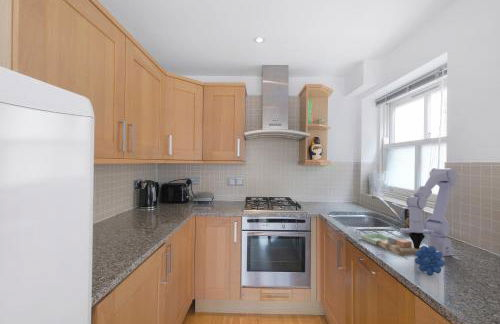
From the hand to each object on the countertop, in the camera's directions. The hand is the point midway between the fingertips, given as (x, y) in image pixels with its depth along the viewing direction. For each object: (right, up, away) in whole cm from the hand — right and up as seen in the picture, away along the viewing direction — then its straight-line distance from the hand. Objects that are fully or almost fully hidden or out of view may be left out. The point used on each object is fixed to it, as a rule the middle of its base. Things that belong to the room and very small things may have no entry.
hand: (416, 248), depth 123 cm
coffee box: (+27, -5, +43) cm, 51 cm away
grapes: (-8, -4, -21) cm, 23 cm away
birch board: (-3, -4, +11) cm, 12 cm away
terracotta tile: (-2, -1, +7) cm, 8 cm away
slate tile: (-3, -1, +13) cm, 13 cm away
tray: (-6, -5, +25) cm, 26 cm away
